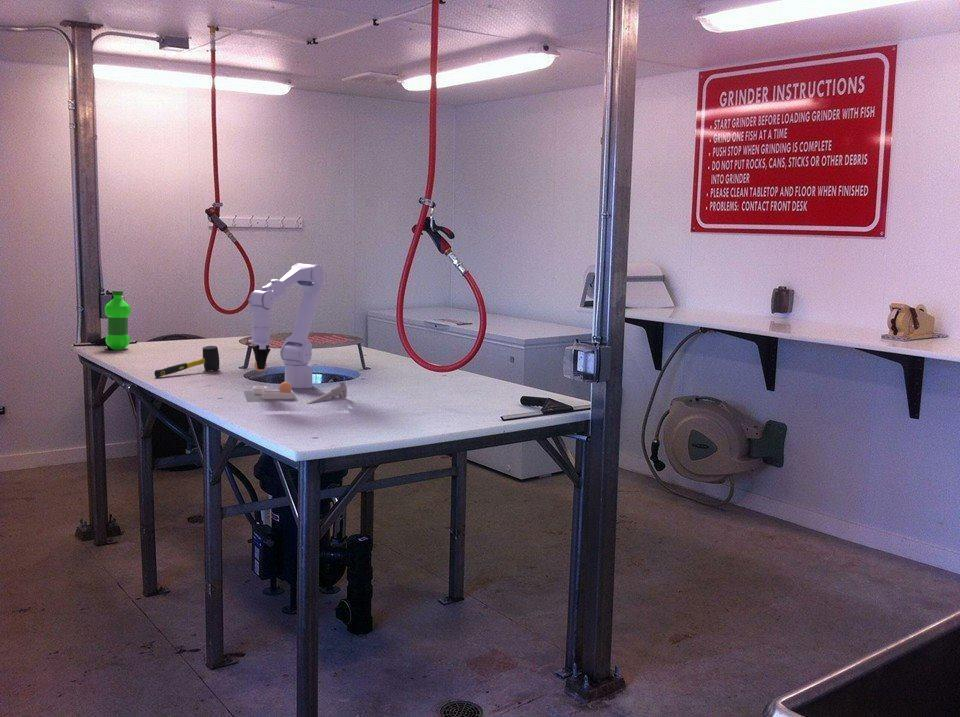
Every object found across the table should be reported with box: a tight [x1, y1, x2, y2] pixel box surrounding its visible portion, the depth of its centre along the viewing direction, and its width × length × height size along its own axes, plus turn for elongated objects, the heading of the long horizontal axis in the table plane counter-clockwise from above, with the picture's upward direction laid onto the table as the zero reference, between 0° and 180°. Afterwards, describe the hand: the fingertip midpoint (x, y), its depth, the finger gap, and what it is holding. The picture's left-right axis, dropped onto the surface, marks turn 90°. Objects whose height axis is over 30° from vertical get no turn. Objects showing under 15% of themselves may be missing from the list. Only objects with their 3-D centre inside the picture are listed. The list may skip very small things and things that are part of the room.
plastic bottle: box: [104, 290, 132, 351], centre depth 379 cm, size 10×10×25 cm
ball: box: [253, 361, 268, 372], centre depth 291 cm, size 4×4×4 cm
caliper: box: [306, 381, 348, 405], centre depth 287 cm, size 20×1×6 cm, turn 151°
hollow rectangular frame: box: [262, 389, 295, 399], centre depth 286 cm, size 10×4×2 cm, turn 108°
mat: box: [243, 390, 299, 403], centre depth 289 cm, size 16×18×1 cm
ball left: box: [278, 381, 293, 393], centre depth 287 cm, size 4×4×4 cm
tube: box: [252, 385, 268, 394], centre depth 292 cm, size 4×4×2 cm
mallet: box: [153, 345, 220, 379], centre depth 328 cm, size 29×6×10 cm, turn 150°
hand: (260, 368), depth 291 cm, fingers closed on ball, 4 cm apart
